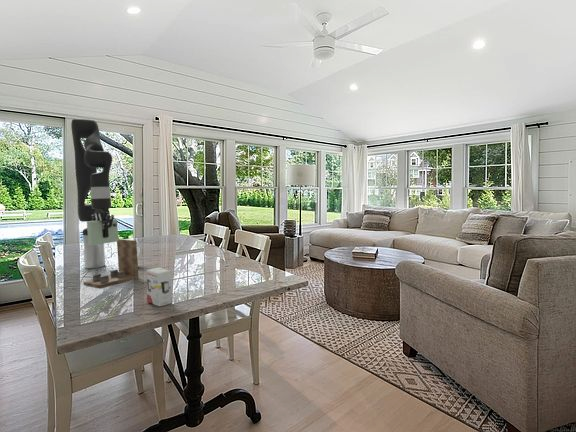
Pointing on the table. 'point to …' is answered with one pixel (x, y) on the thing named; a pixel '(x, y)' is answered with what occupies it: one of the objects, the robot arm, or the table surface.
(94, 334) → the table surface
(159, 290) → the ink box
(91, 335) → the table surface
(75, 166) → the robot arm
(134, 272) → the wooden l-shaped stand
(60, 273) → the table surface
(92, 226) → the door
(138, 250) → the lightbulb
